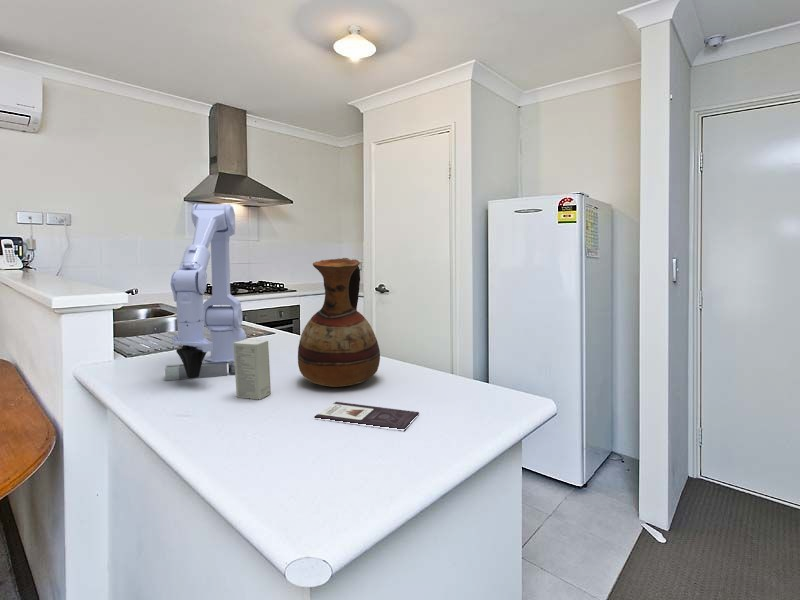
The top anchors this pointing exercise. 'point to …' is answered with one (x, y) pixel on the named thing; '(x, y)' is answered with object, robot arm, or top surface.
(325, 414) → the chocolate bar
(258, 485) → the top surface
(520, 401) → the top surface
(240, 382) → the skincare box
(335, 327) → the ceramic pitcher
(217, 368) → the tongs moving leg
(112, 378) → the top surface
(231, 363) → the bar
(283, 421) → the top surface
